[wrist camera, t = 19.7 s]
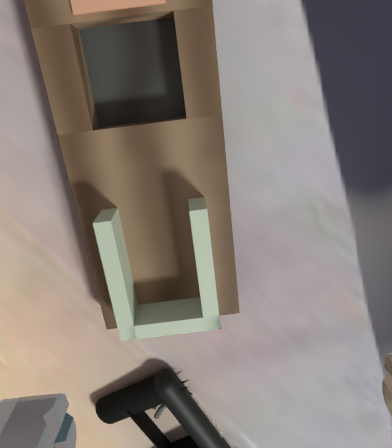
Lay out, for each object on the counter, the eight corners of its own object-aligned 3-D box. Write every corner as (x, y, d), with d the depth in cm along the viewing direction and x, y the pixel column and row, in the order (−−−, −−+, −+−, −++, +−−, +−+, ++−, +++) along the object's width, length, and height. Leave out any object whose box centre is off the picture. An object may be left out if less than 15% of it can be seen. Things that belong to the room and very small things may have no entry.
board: (111, 312, 40) (106, 329, 37) (16, -83, 27) (-3, -104, 24) (235, 297, 40) (239, 312, 37) (198, -107, 27) (200, -130, 24)
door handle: (149, 513, 49) (253, 479, 46) (62, 424, 43) (176, 376, 40) (152, 488, 52) (250, 454, 49) (71, 401, 46) (178, 355, 43)
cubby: (126, 318, 37) (120, 341, 33) (101, 209, 32) (92, 223, 29) (217, 307, 36) (220, 328, 33) (204, 196, 32) (207, 208, 29)
